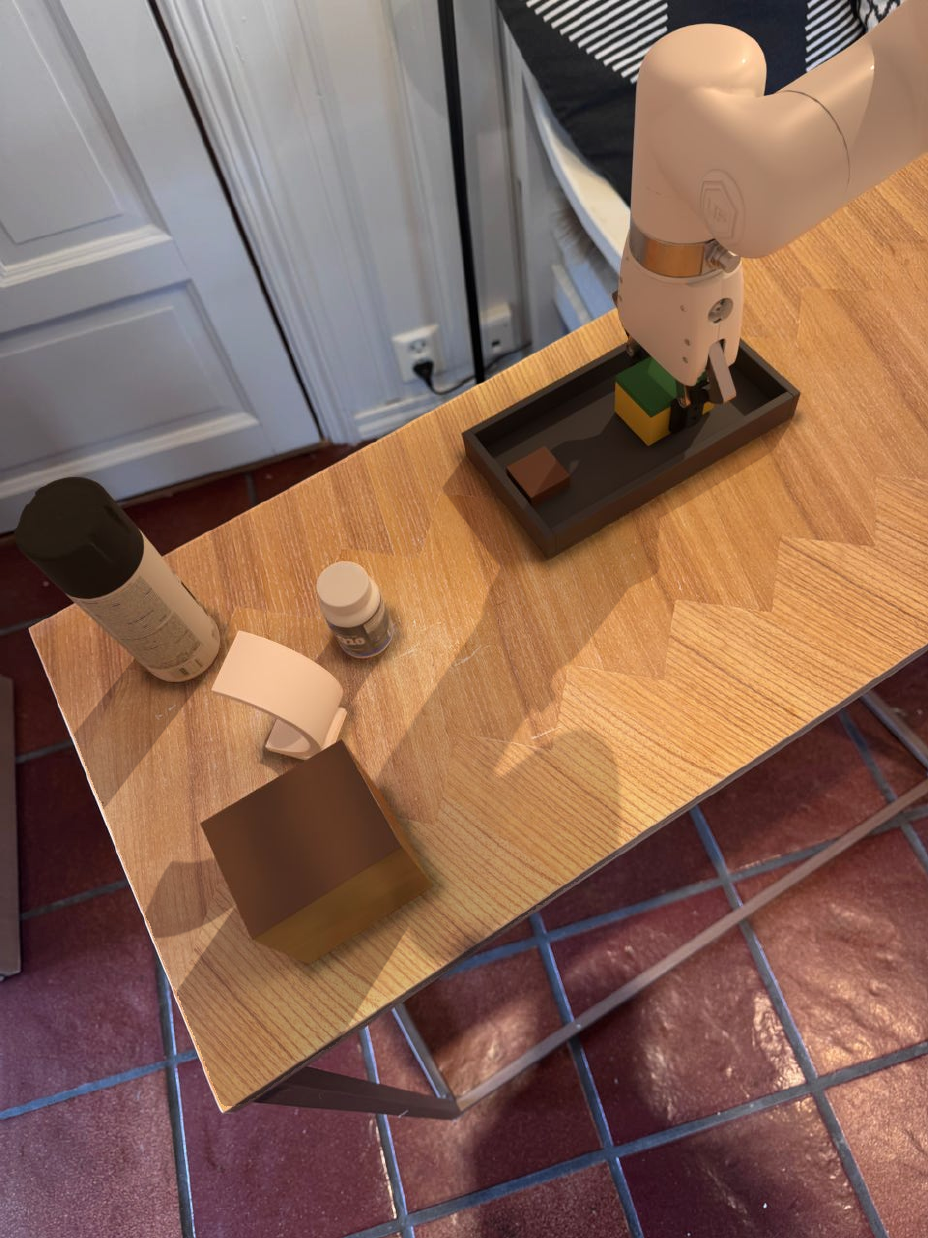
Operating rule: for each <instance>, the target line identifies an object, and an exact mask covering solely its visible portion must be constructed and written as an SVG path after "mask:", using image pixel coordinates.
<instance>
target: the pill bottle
mask: <svg viewBox="0 0 928 1238" xmlns="http://www.w3.org/2000/svg"><path fill="white" fill-rule="evenodd" d="M315 583H316V585H315V590H316V595H317V596H318V597H317V598H318V599H319V601H318V603H319V604H318V606H319V609H320V612H321V614H322V616H323V619H324V620H325V622H326V623H327V625H328V627H329V629H330V631H331V632H332V634H333V637H334V638H335V640H336V641H337V643H338V646H339V647H340V648H341V649H342V651H344V652H345V653H346V654H347V655H349V656H351V657H353V658H357V659H369V658H372V657H375V656H378V655H379V654H381V653H382V652H384V651H385V650H386V649H387V648H388V646H389V645H390V643H391V642H392V640H393V637H394V624H393V621H392V618H391V615H390V613H389V611H388V608H387V605H386V603H385V601H384V598H383V596H382V593H381V591H380V588H379V586H378V585H377V583H376V582H375V580H374V579H373V578H372V577H370V576H369V575H368V572H367V571H366V570H365V568H364V567H363V566H361V564H359V563H358V562H357V563H356V562H354V561H349V560H341V561H336V562H333V563H332V564H330V565H328V566H327V567H325V568H324V569H323V570H322V571H321V573H320V574H319V576H318V577H317V580H316V582H315Z"/></svg>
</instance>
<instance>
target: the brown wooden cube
mask: <svg viewBox="0 0 928 1238" xmlns="http://www.w3.org/2000/svg"><path fill="white" fill-rule="evenodd" d="M199 824H200V826H201V829H202V831H203V833H204V835H205V838H206V841H207V842H208V845H209V847H210V849H211V852H212V854H213V856H214V858H215V860H216V863H217V865H218V868H219V870H220V871H221V874H222V876H223V879H224V882H225V883H226V885H227V887H228V890H229V892H230V895H231V896H232V899H233V901H234V903H235V905H236V908H237V910H238V912H239V914H240V918H241V919H242V921H243V924H244V926H245V928H246V930H247V933H248V935H249V937H250V939H251V940H252V941H254V942H256V943H258V944H260V945H262V946H266V947H267V948H269V949H272V950H275V951H277V952H279V953H281V954H284V955H287V956H289V957H291V958H293V959H296V960H298V961H301V962H302V963H306V964H308V965H311V964H312V963H314V962H316V961H318V960H319V959H321V958H323V957H324V956H326V955H327V954H328V953H330V952H332V951H333V950H335V949H336V948H338V947H339V946H341V945H343V944H344V943H346V942H348V941H349V940H351V939H352V938H354V937H355V936H357V935H358V934H360V933H361V932H363V931H365V930H366V929H368V928H369V927H371V926H373V925H374V924H376V923H377V922H379V921H381V920H382V919H384V918H385V917H387V916H388V915H390V914H392V913H393V912H395V911H396V910H398V909H400V908H401V907H403V906H404V905H406V904H407V903H409V902H411V901H412V900H414V899H416V898H417V897H419V896H420V895H422V894H424V893H425V892H426V891H428V890H429V889H431V888H432V887H434V884H433V882H432V881H431V879H430V877H429V875H428V874H427V871H426V870H425V868H424V866H423V864H422V862H421V861H420V859H419V858H418V856H417V854H416V852H415V851H414V849H413V847H412V845H411V843H410V841H409V839H408V838H407V836H406V835H405V832H404V831H403V829H402V827H401V826H400V823H399V822H398V820H397V818H396V817H395V815H394V813H393V811H392V810H391V808H390V806H389V805H388V803H387V800H386V799H385V798H384V796H383V794H382V792H381V791H380V789H379V787H377V785H376V784H375V782H374V781H373V780H372V778H371V776H370V775H369V774H368V773H367V772H366V769H365V768H364V767H363V766H362V764H361V763H360V761H359V760H358V758H357V757H356V756H355V754H354V753H353V752H352V750H351V749H350V747H349V746H348V745H347V743H346V742H345V740H344V739H343V738H341V739H339V740H336V743H334V744H332V745H330V746H329V747H327V748H325V749H324V750H322V751H320V752H319V753H317V754H315V755H314V756H312V757H310V758H309V759H307V760H303V761H301V762H300V763H299V764H296V765H295V766H293V767H292V768H290V769H288V770H287V771H285V772H284V773H282V774H281V775H278V776H277V777H275V778H273V779H272V780H270V781H268V782H267V783H265V784H263V785H262V786H260V787H258V788H257V789H255V790H253V791H252V792H250V793H248V794H247V795H245V796H243V797H242V798H240V799H239V800H238V799H237V801H235V802H233V803H231V804H230V805H228V806H226V807H225V808H223V809H221V810H220V811H218V812H216V813H214V814H213V815H212V816H209V817H208V818H206V819H205V820H203V821H201V822H200V823H199Z"/></svg>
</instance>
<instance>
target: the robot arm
mask: <svg viewBox="0 0 928 1238" xmlns="http://www.w3.org/2000/svg"><path fill="white" fill-rule="evenodd" d="M766 81H767V62H766V58H765V54H764V52H763V50H762V48H761V47H760V44H759V43H758V42H757V41H756V40H755V39H754V38H753V37H752V36H750V35H749V34H747V33H746V32H744V31H742V30H741V29H738V28H736V27H733V26H729V25H724V24H719V23H698V24H693V25H687V26H683V27H681V28H678V29H675V30H672V31H670V32H669V33H667V34H665V35H664V36H663V37H661V38H659V39H658V40H657V41H656V42H654V43H653V44H652V46H651V47H650V48H649V49H648V51H647V52H646V53H645V55H644V57H643V59H642V61H641V63H640V65H639V70H638V74H637V81H636V90H635V110H634V111H635V112H634V130H633V131H634V132H633V151H632V152H633V153H632V154H633V155H632V174H631V193H630V197H631V198H630V213H629V214H630V215H629V228H628V232H627V235H626V238H625V240H624V241H625V242H624V246H623V250H622V254H621V255H622V256H621V261H620V268H619V273H618V274H619V275H618V286H617V289H616V290H615V291H614V292H612V293H611V299H612V301H613V304H614V305H615V308H616V309H617V315H618V320H619V322H620V324H621V327H622V329H623V330H624V332H625V335H626V338H627V340H626V342H627V343H626V350H627V352H628V354H629V355H630V356H632V358H631V359H630V366H629V368H630V367H632V366H634V365H636V364H637V363H640V362H641V361H643V360H645V359H647V358H648V357H650V356H652V357H653V358H654V359H655V360H656V361H657V362H658V363H659V364H660V365H661V366H662V367H663V368H664V369H665V370H666V371H668V372H669V373H670V374H671V375H672V376H673V377H674V378H675V383H676V392H677V397H676V398H674V399H673V401H672V403H671V411H670V419H669V429H668V430H669V431H670V433H671V434H672V435H674V434H676V433H678V432H680V431H681V430H683V429H685V428H687V429H688V428H691V427H693V426H694V425H696V424H697V423H698V422H699V421H700V419H701V417H702V414H703V408H704V404H705V403H707V402H711V403H713V404H724V403H726V402H727V401H729V400H731V399H733V398H734V397H736V390H735V387H734V384H733V381H732V378H731V375H730V372H729V369H728V366H730V365H731V364H733V363H734V362H735V359H736V356H737V352H738V346H739V340H740V338H741V333H742V324H743V312H744V296H745V295H744V293H745V291H744V289H745V285H744V269H743V261H742V258H743V259H749V260H751V259H752V260H755V259H757V260H758V259H762V258H765V257H768V256H771V255H773V254H776V253H777V252H779V251H781V250H783V249H784V248H787V246H789V245H791V244H792V243H794V242H795V241H797V240H798V239H799V238H801V237H802V236H804V235H806V234H807V233H809V232H811V231H812V230H813V229H815V228H816V227H817V226H819V225H820V224H823V222H824V221H826V220H828V219H829V218H831V217H832V216H833V215H835V214H836V213H838V212H840V211H841V210H842V209H844V208H845V207H847V206H848V205H849V204H851V203H852V202H854V201H856V200H857V199H858V198H860V197H862V195H864V194H866V193H868V192H869V191H870V190H872V189H874V188H875V187H877V186H878V185H880V184H882V183H883V182H885V181H887V180H888V179H890V178H891V177H892V176H894V175H896V174H897V173H898V172H900V171H902V170H903V169H904V168H906V167H907V166H909V165H910V164H912V163H914V162H915V161H916V160H918V159H920V157H922V156H924V155H925V154H927V153H928V0H903V2H901V3H900V4H899V5H898V6H896V8H895V9H894V10H892V11H891V12H890V13H889V14H887V15H886V16H885V17H884V18H883V19H882V20H880V22H878V23H877V24H876V25H875V26H874V27H873V28H871V29H870V30H869V31H867V32H866V33H865V34H864V35H863V36H861V37H860V38H858V40H856V41H855V42H853V43H852V44H851V45H849V46H847V47H846V48H844V49H843V50H841V51H840V52H839V53H837V54H835V55H834V56H832V57H831V58H829V59H827V60H826V61H824V62H822V63H821V64H819V65H817V66H815V67H814V68H812V69H811V70H809V71H807V72H806V73H804V74H803V75H801V76H800V77H798V78H796V79H794V81H791V82H790V83H789V84H787V85H785V86H784V87H782V88H780V90H777V91H776V92H774V93H773V94H767V95H765V89H766ZM697 378H698V381H699V383H696V382H697Z"/></svg>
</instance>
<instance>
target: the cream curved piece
mask: <svg viewBox="0 0 928 1238" xmlns="http://www.w3.org/2000/svg"><path fill="white" fill-rule="evenodd" d="M210 690H211V692H212V693H213V694H214V695H215V696H219V697H222V698H225V699H228V700H231V701H234V702H238V703H241V704H243V705H245V706H248V707H250V708H253V709H255V710H258V711H260V712H263V713H264V714H266V715H268V716H271V717H272V718H275V722H274V725H273V726H272V730H271V732H270V734H269V736H268V739H267V741H266V743H265V749H267V751H270V752H273V753H278V754H281V755H284V756H287V757H291V758H294V759H299V760H302V761H305V760H307V759H309V758H310V757H312V756H314V755H315V754H317V753H319V752H320V751H322V750H324V749H325V748H327V747H329V746H330V745H332V744H334V743H336V742H337V741H338V737H339V734H340V732H341V730H342V727H343V725H344V722H345V719H346V718H347V717H346V716H347V714H348V711H347V709H346V708H345V707H341V706H340V703H341V701H342V698H343V696H344V689H343V687H342V684H340V682H339V681H338V680H337V678H336V677H335V676H333V675H332V674H331V673H330V672H329V671H328V670H327V669H325V668H324V667H322V666H321V665H320V664H318V663H317V662H315V661H314V660H312V659H310V658H309V657H307V656H305V655H303V654H302V653H299V652H298V651H296V650H294V649H292V648H289V647H288V646H285V645H283V644H281V643H278V642H276V641H274V640H271V639H268V638H267V637H266V638H265V637H263V636H260V635H257V634H255V633H250V632H247V631H243V630H238V631H237V633H236V635H235V638H234V640H233V641H232V644H231V646H230V648H229V651H228V652H227V655H226V657H225V658H224V661H223V663H222V665H221V668H220V669H219V671H218V674H217V676H216V678H215V681H214V683H213V685H212V686H211V689H210Z"/></svg>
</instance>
